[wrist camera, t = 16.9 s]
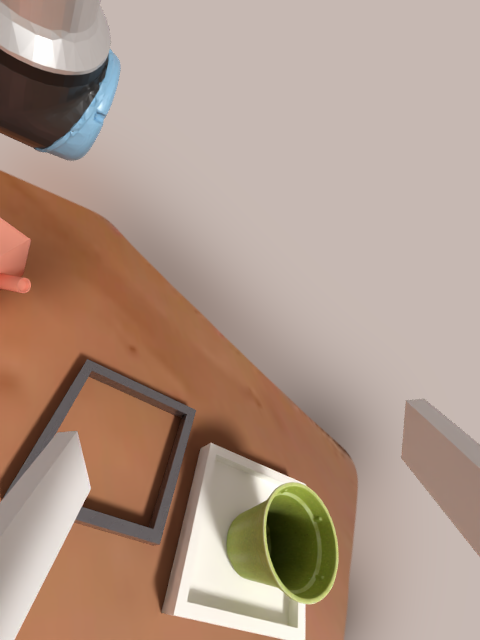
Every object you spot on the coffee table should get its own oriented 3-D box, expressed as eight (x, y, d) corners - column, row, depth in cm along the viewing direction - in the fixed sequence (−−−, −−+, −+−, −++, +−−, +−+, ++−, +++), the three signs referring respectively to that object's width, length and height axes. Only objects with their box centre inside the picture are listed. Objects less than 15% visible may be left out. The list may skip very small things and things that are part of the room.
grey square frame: (83, 364, 36) (87, 359, 35) (190, 414, 41) (196, 410, 40) (1, 500, 26) (3, 498, 25) (153, 545, 31) (159, 544, 30)
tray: (200, 448, 39) (211, 442, 38) (293, 487, 44) (305, 484, 42) (161, 612, 29) (173, 614, 27) (288, 640, 34) (305, 643, 32)
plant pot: (219, 485, 37) (266, 469, 31) (282, 506, 40) (334, 495, 35) (204, 591, 31) (259, 594, 25) (279, 606, 34) (343, 611, 28)
